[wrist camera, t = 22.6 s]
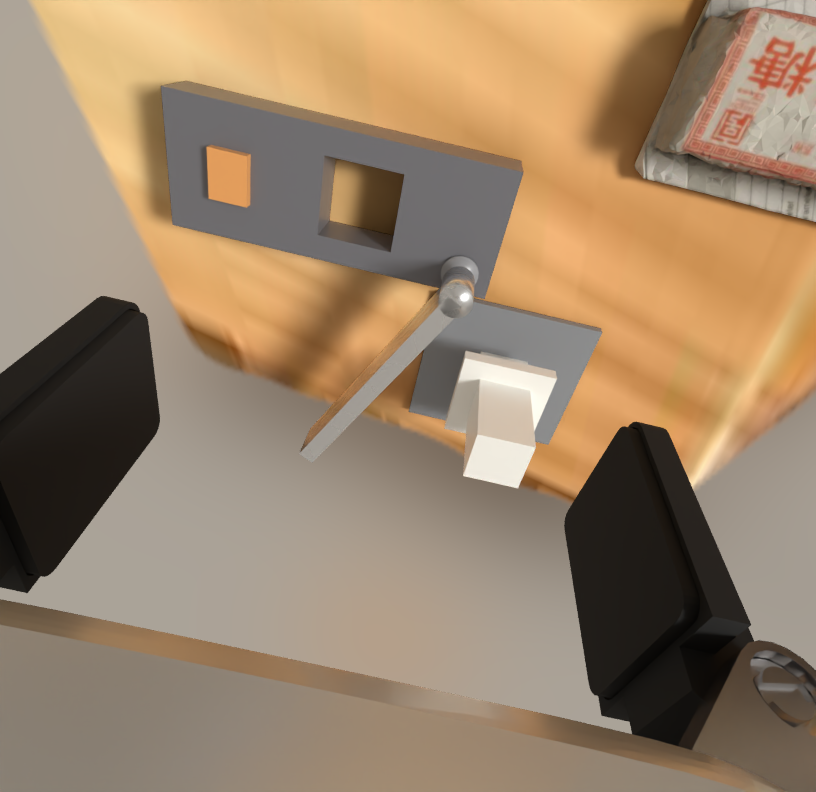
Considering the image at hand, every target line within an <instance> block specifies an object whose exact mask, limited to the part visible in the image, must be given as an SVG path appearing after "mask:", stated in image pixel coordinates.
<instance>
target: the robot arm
mask: <svg viewBox="0 0 816 792" xmlns="http://www.w3.org/2000/svg"><path fill="white" fill-rule="evenodd" d="M159 423H160V414H159V406H158V399H157V390H156V382H155V374H154V367H153V358H152V350H151V342H150V333H149V325H148V319H147V316H146V315H145V314H144V313H141V312H140V310H139V308H138V306H137V305H136V304H135V303H132V302H127V301H124V300H119V299H115V298H111V297H107V296H101V297H99V298H97V299H96V300H94V301H93V302H92V303H90V304H89V305H88V306H87V307H85V308H84V309H83V310H82V311H80V312H79V313H78V314H76V315H75V316H74V317H73V318H71V319H70V320H69V321H67V322H66V323H65V324H64V325H62V326H61V327H60V328H58V329H57V330H56V331H55V332H53V333H52V334H51V335H49V336H48V337H47V338H46V339H44V340H43V341H42V342H40V343H39V344H38V345H37V346H35V347H34V348H33V349H32V350H30V351H29V352H28V353H26V354H25V355H24V356H23V357H21V358H20V359H19V360H17V361H16V362H15V363H14V364H12V365H11V366H10V367H9V368H7V369H6V370H5V371H3V372H2V373H1V374H0V587H2V588H6V589H12V590H16V591H20V592H25V593H28V592H29V590H30V589H31V588H32V586H33V585H34V584H35V583H36V581H37V580H38V578H39V577H40V576H44V577H45V576H48V575H49V574H51V573H52V572H53V571H54V570H55V569H56V567H57V566H58V565H59V563H60V562H61V561H62V559H63V558H64V557H65V555H66V554H67V553H68V551H69V550H70V549H71V547H72V546H73V545H74V543H75V542H76V541H77V539H78V538H79V537H80V535H81V534H82V533H83V531H84V530H85V529H86V527H87V526H88V524H89V523H90V522H91V520H92V519H93V518H94V516H95V515H96V514H97V512H98V511H99V510H100V508H101V507H102V506H103V504H104V503H105V502H106V500H107V499H108V498H109V496H110V495H111V494H112V492H113V491H114V490H115V488H116V487H117V486H118V484H119V483H120V482H121V480H122V479H123V478H124V476H125V475H126V474H127V472H128V471H129V469H130V468H131V467H132V466H133V464H134V463H135V462H136V460H137V459H138V457H139V456H140V455H141V453H142V452H143V451H144V449H145V448H146V447H147V445H148V444H149V443H150V441H151V440H152V439H153V437H154V436H155V434H156V433H157V430H158V427H159ZM564 526H565V534H566V541H567V547H568V554H569V560H570V566H571V572H572V579H573V586H574V592H575V598H576V605H577V611H578V618H579V624H580V630H581V637H582V643H583V649H584V655H585V662H586V668H587V675H588V681H589V686H590V689H591V691H592V693H593V694H594V695H597V696H598V697H599V703H600V709H601V715H602V716H606V717H611V718H615V719H620V720H624V721H629V722H630V726H631V730H632V734H628V733H624V732H620V731H615V730H611V729H607V728H603V727H599V726H594V725H590V724H586V723H582V722H578V721H573V720H569V719H565V718H560V717H556V716H552V715H547V714H542V713H538V712H533V711H529V710H524V709H520V708H515V707H510V706H506V705H501V704H497V703H492V702H487V701H483V700H478V699H474V698H469V697H464V696H460V695H455V694H450V693H446V692H441V691H437V690H432V689H427V688H423V687H419V686H414V685H410V684H405V683H400V682H396V681H391V680H386V679H381V678H377V677H372V676H368V675H363V674H358V673H353V672H349V671H344V670H339V669H335V668H330V667H325V666H321V665H316V664H311V663H307V662H301V661H297V660H292V659H288V658H282V657H278V656H274V655H269V654H264V653H260V652H255V651H250V650H245V649H240V648H236V647H231V646H227V645H221V644H217V643H212V642H207V641H202V640H198V639H193V638H188V637H183V636H178V635H174V634H168V633H164V632H159V631H154V630H150V629H145V628H140V627H135V626H130V625H125V624H120V623H116V622H111V621H106V620H101V619H97V618H92V617H87V616H82V615H78V614H73V613H68V612H63V611H58V610H53V609H47V608H42V607H37V606H32V605H27V604H22V603H16V602H11V601H6V600H0V792H816V670H815V669H814V668H813V667H812V666H811V665H809V664H808V663H807V662H806V661H805V660H804V659H803V658H801V657H800V656H798V655H797V654H795V653H794V652H792V651H791V650H789V649H787V648H785V647H783V646H781V645H778V644H776V643H773V642H768V641H761V640H758V641H754V640H753V638H752V635H751V633H750V631H749V628H748V627H749V626H750V625H751V623H750V621H749V619H748V616H747V614H746V612H745V609H744V607H743V605H742V602H741V600H740V598H739V596H738V593H737V591H736V589H735V586H734V584H733V582H732V579H731V577H730V575H729V572H728V570H727V568H726V565H725V563H724V561H723V559H722V556H721V554H720V552H719V549H718V547H717V544H716V542H715V540H714V537H713V536H712V533H711V531H710V528H709V526H708V524H707V521H706V519H705V517H704V514H703V512H702V510H701V507H700V505H699V503H698V501H697V498H696V496H695V493H694V491H693V489H692V486H691V484H690V482H689V479H688V477H687V475H686V472H685V470H684V468H683V466H682V463H681V461H680V459H679V456H678V454H677V452H676V449H675V447H674V445H673V442H672V440H671V438H670V435H669V433H668V432H667V430H666V429H664V428H661V427H657V426H652V425H648V424H644V423H640V422H633V423H632V424H630V425H629V427H621V428H620V429H619V430H618V432H617V433H616V435H615V436H614V438H613V440H612V441H611V443H610V444H609V446H608V448H607V449H606V451H605V452H604V454H603V456H602V457H601V459H600V460H599V462H598V464H597V465H596V467H595V468H594V470H593V472H592V473H591V475H590V476H589V478H588V480H587V481H586V483H585V484H584V486H583V488H582V489H581V491H580V492H579V494H578V496H577V497H576V499H575V500H574V502H573V504H572V505H571V507H570V508H569V510H568V512H567V514H566V517H565V525H564Z"/></svg>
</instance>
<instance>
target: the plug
mask: <svg viewBox="0 0 816 792" xmlns="http://www.w3.org/2000/svg"><path fill="white" fill-rule="evenodd" d="M556 380H557V376H556V371H553V370H549V369H544V368H540V367H536V366H531V365H528V362H526V361H521V360H517V359H512V358H508V357H504V356H499V355H495V354H490V353H486V352H481V353H480V354H478V353H474V352H469V351H465V355H464V358H463V362H462V365H461V368H460V372H459V375H458V379H457V382H456V386H455V389H454V393H453V396H452V400H451V403H450V406H449V410H448V413H447V417H446V420H445V428H444V429H449V430H453V431H458V432H462V433H466V442H465V457H464V471H463V476H466V477H471V478H475V479H480V480H484V481H488V482H493V483H497V484H501V485H506V486H510V487H515V488H518V487H519V484H520V482H521V480H522V478H523V475H524V473H525V471H526V469H527V466H528V464H529V462H530V460H531V457H532V455H533V453H534V451H535V448H536V445H535V434H534V431H535V429H536V426H537V424H538V422H539V419H540V417H541V415H542V412H543V410H544V408H545V405H546V403H547V401H548V399H549V396H550V394H551V392H552V389H553V387H554V385H555V382H556Z"/></svg>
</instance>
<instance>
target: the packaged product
mask: <svg viewBox="0 0 816 792" xmlns="http://www.w3.org/2000/svg"><path fill="white" fill-rule="evenodd" d="M635 169H636V170H637V171H638V172H639V174H640V175H641V176H642V177H643V178H644V179H648V180H652V181H657V182H661V183H665V184H669V185H673V186H677V187H681V188H685V189H689V190H693V191H697V192H701V193H705V194H709V195H712V196H716V197H720V198H724V199H728V200H732V201H735V202H739V203H743V204H747V205H750V206H754V207H758V208H761V209H765V210H769V211H773V212H777V213H781V214H785V215H789V216H793V217H797V218H801V219H805V220H809V221H813V222H816V0H707V3H706V5H705V7H704V9H703V11H702V13H701V15H700V18H699V20H698V22H697V24H696V26H695V28H694V30H693V32H692V35H691V37H690V39H689V41H688V43H687V45H686V47H685V50H684V52H683V55H682V57H681V59H680V62H679V64H678V67H677V69H676V72H675V74H674V77H673V79H672V82H671V84H670V87H669V89H668V92H667V94H666V96H665V98H664V100H663V102H662V105H661V107H660V109H659V111H658V113H657V115H656V117H655V120H654V122H653V124H652V126H651V129H650V131H649V133H648V135H647V138H646V140H645V142H644V144H643V146H642V149H641V151H640V153H639V155H638V158H637V160H636V162H635Z"/></svg>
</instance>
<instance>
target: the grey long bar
mask: <svg viewBox="0 0 816 792" xmlns="http://www.w3.org/2000/svg"><path fill="white" fill-rule="evenodd" d="M474 286H475V279H474V276H473V274H472V272H471V271H470V270H469V269H467V268H465V267H461V266H456V267H452V268H450V269H449V270H447V271H446V273H445V274H444V276H443V280H442V285H441V287H440V288H439V290H438V291H437V292H436V293H435V294H434V295H433V296H432V297H431V298H430V299H429V300H428V301H427V303H426V304H425V305H424V306H423V307H422V308H421V309H420V310H419V311H418V312H417V313H416V314H415V316H414V317H413V318H412V319H411V320H410V321H409V322H408V323H407V324H406V325H405V326H404V328H403V329H402V330H401V331H400V332H399V333H398V334H397V335H396V336H395V337H394V338H393V339H392V341H391V342H390V343H389V344H388V345H387V346H386V347H385V348H384V349H383V350H382V351H381V352H380V354H379V355H378V356H377V357H376V358H375V359H374V360H373V361H372V362H371V363H370V364H369V366H368V367H367V368H366V369H365V370H364V371H363V372H362V373H361V374H360V375H359V376H358V377H357V379H356V380H355V381H354V382H353V383H352V384H351V385H350V386H349V387H348V388H347V389H346V390H345V392H344V393H343V394H342V395H341V396H340V397H339V398H338V399H337V400H336V401H335V402H334V404H333V405H332V406H331V407H330V408H329V409H328V410H327V411H326V412H325V414H323V416H322V417H321V418H320V419H319V420H318V421H317V422H316V423H315V424H314V425H313V426H312V427H311V428H310V431H309V433H308V435H307V437H306V439H305V441H304V444H303V446H302V448H301V451H300V453H299V454H300V455H301V456H303V457H304V458H306V459H307V460H309V461H311V462H313V461H314V460H315V459H316V458H317V457H318V456H319V455H320V454H321V453H322V452H323V451H324V450H325V449H326V448H327V447H328V446H329V445H330V444H331V443H332V442H333V441H334V440H335V439H336V438H337V437H338V436H339V435H340V434H341V433H342V432H343V431H344V430H345V429H346V428H347V427H348V426H349V425H350V424H351V423H352V422H353V421H354V420H355V419H356V417H358V416H359V415H360V414H361V413H362V412H363V411H364V409H365V408H366V407H367V406H368V405H369V404H370V403H371V402H372V401H373V400H374V399H375V398H376V397H377V396H378V395H379V394H380V393H381V392H382V391H383V390H384V389H385V388H386V387H387V386H388V385H389V384H390V383H391V382H392V381H393V380H394V379H395V378H396V377H397V376H398V375H399V374H400V373H401V372H402V371H403V370H404V369H405V368H406V367H407V366H408V365H409V364H410V363H411V362H412V361H413V360H414V359H415V358H416V357H417V356H418V355H419V354H420V353H421V352H422V351H423V350H424V349H425V348H426V347H427V346H428V345H429V344H430V343H431V342H432V341H433V339H434V338H435V337H436V336H437V335H438V334H439V333H440V332H441V331H442V330H443V329H444V328H445V327H446V326H447V325H448V324H449V323H450V322H451V321H452V320H453V319H454V318H462V317H464V316H466V315H467V314H468V313H469V312H470V311H471V309H472V307H473V299H474Z"/></svg>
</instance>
